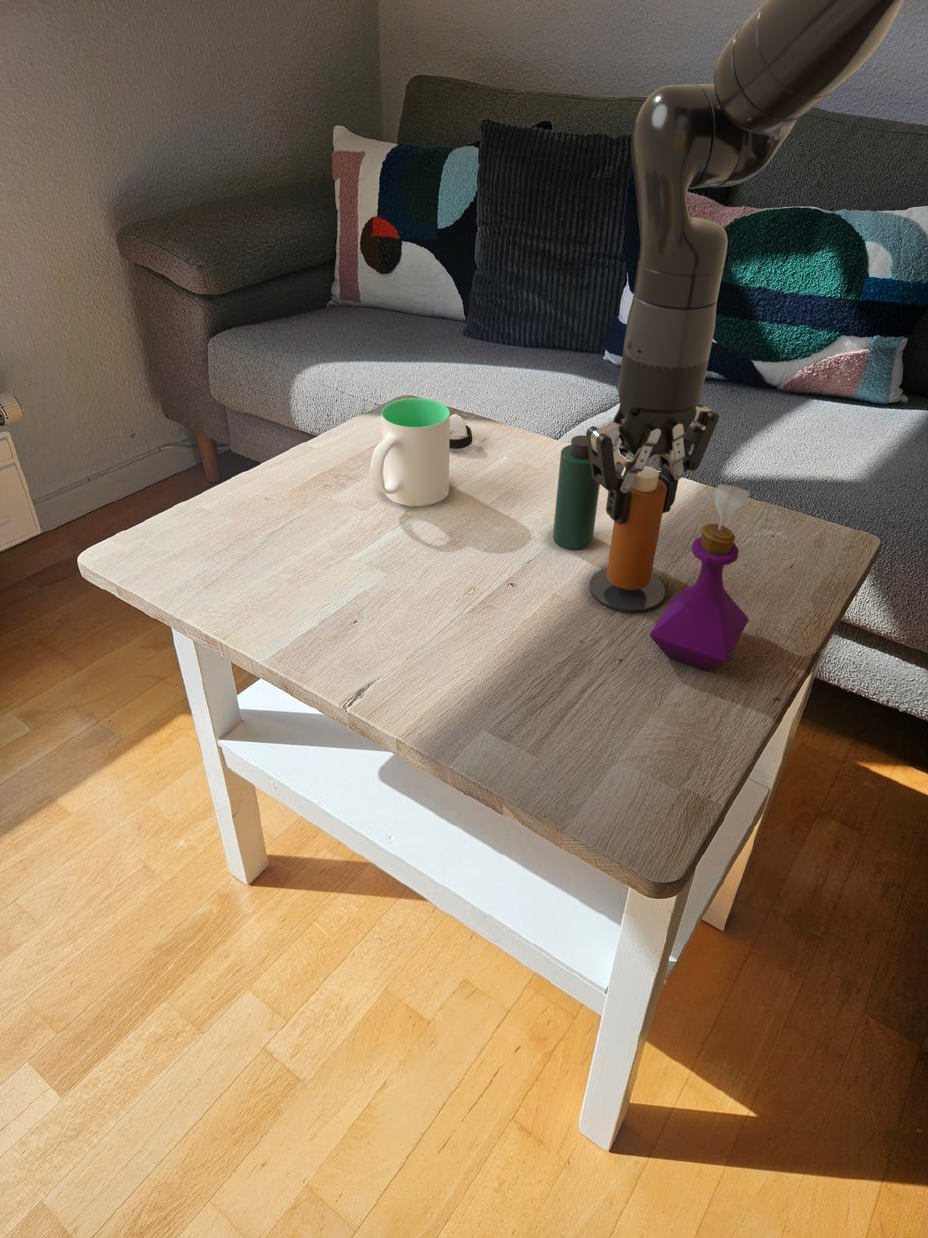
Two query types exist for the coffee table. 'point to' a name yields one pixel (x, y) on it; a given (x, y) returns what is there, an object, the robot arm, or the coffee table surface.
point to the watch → (460, 433)
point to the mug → (413, 452)
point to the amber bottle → (637, 533)
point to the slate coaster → (626, 594)
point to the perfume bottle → (706, 597)
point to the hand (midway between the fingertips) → (639, 513)
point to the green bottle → (575, 497)
